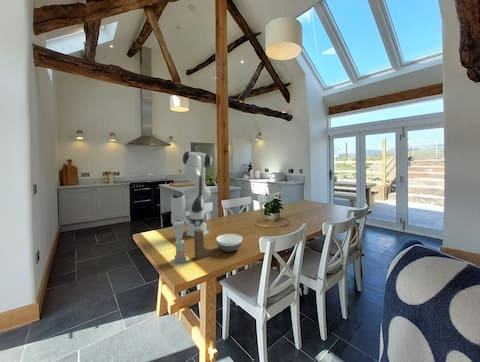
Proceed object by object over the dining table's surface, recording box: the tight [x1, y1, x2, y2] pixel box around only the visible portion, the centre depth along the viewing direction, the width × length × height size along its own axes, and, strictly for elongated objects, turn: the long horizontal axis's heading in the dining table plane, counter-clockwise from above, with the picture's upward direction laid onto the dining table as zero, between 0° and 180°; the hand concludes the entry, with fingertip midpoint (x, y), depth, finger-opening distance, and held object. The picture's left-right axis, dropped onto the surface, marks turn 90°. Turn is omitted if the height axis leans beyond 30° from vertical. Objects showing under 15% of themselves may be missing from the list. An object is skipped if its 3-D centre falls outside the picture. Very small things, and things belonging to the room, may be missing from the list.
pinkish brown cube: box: [175, 249, 186, 259], centre depth 143 cm, size 5×5×5 cm
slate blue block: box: [174, 253, 187, 265], centre depth 143 cm, size 7×7×2 cm
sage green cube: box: [175, 239, 185, 252], centre depth 142 cm, size 5×5×5 cm
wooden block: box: [193, 229, 211, 260], centre depth 148 cm, size 9×4×18 cm, turn 130°
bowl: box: [215, 233, 244, 253], centre depth 160 cm, size 19×19×8 cm
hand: (179, 241), depth 142 cm, fingers open, 8 cm apart
